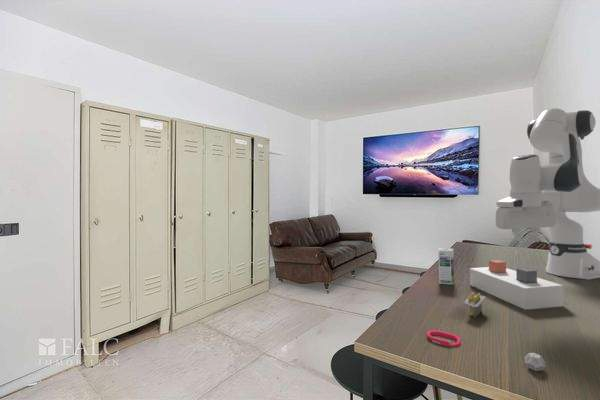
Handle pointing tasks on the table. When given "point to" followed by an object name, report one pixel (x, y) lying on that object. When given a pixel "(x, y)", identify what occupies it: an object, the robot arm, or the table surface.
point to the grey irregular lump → (534, 362)
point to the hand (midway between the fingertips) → (526, 240)
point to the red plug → (497, 266)
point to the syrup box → (446, 266)
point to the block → (517, 289)
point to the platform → (475, 304)
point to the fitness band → (441, 341)
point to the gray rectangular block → (526, 275)
